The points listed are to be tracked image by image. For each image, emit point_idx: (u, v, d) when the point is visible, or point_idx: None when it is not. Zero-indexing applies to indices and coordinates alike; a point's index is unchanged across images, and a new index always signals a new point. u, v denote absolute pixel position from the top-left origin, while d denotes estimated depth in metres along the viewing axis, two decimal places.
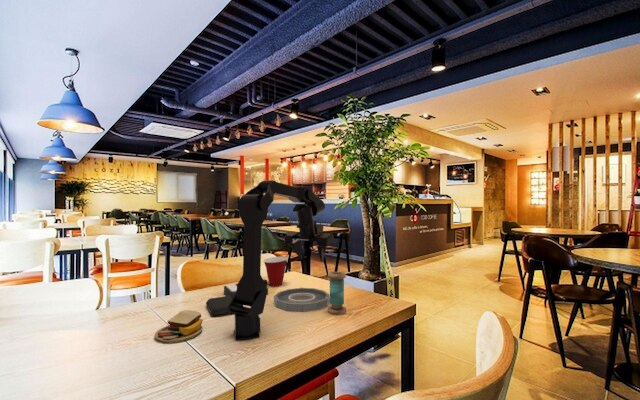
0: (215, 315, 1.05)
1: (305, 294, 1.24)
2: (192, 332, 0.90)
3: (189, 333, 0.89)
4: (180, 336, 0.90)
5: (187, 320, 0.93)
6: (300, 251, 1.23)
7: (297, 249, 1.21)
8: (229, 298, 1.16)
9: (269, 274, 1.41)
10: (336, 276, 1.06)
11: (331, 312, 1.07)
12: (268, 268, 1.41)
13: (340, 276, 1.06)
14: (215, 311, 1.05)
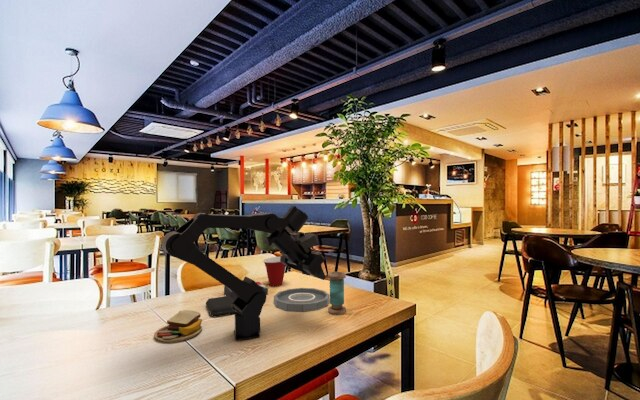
0: (214, 315, 1.05)
1: (305, 294, 1.24)
2: (192, 332, 0.90)
3: (189, 333, 0.89)
4: (179, 336, 0.90)
5: (186, 320, 0.93)
6: None
7: (298, 268, 1.06)
8: (229, 298, 1.16)
9: (269, 274, 1.41)
10: (336, 276, 1.06)
11: (331, 312, 1.07)
12: (268, 268, 1.41)
13: (340, 276, 1.06)
14: (214, 311, 1.05)
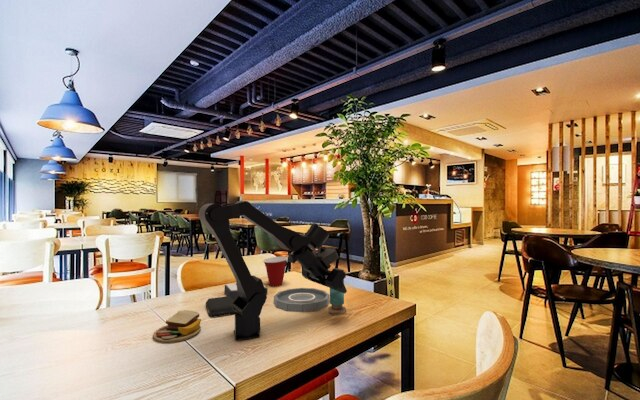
0: (214, 315, 1.05)
1: (305, 294, 1.24)
2: (191, 332, 0.90)
3: (188, 333, 0.89)
4: (179, 336, 0.90)
5: (185, 320, 0.93)
6: (324, 280, 1.12)
7: (319, 281, 1.11)
8: (228, 298, 1.16)
9: (269, 274, 1.41)
10: None
11: (331, 312, 1.07)
12: (268, 268, 1.41)
13: None
14: (214, 311, 1.05)
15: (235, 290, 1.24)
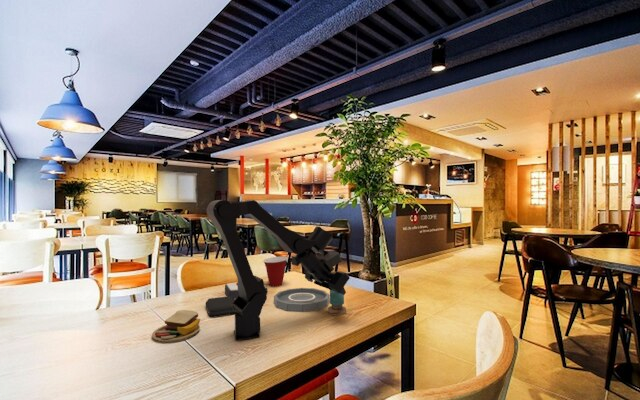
0: (213, 315, 1.05)
1: (305, 294, 1.24)
2: (190, 331, 0.90)
3: (187, 332, 0.89)
4: (178, 336, 0.90)
5: (184, 320, 0.93)
6: None
7: (325, 285, 1.10)
8: (228, 298, 1.16)
9: (269, 274, 1.41)
10: None
11: (331, 312, 1.07)
12: (268, 268, 1.41)
13: None
14: (213, 311, 1.05)
15: (235, 290, 1.25)
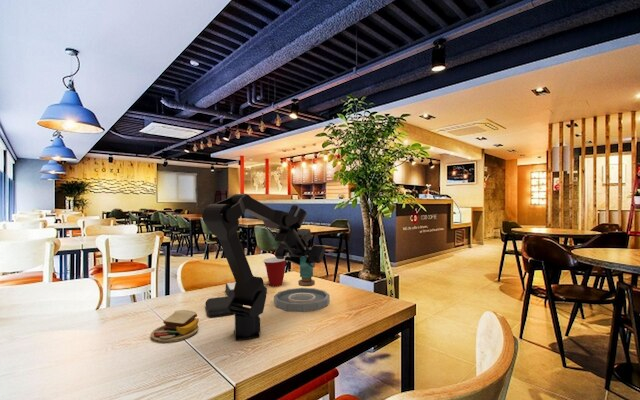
0: (212, 315, 1.05)
1: (305, 294, 1.24)
2: (189, 331, 0.91)
3: (186, 332, 0.90)
4: (177, 335, 0.90)
5: (183, 319, 0.93)
6: (299, 260, 1.20)
7: (295, 261, 1.18)
8: (228, 298, 1.16)
9: (269, 274, 1.41)
10: None
11: (304, 284, 1.16)
12: (268, 268, 1.41)
13: None
14: (212, 311, 1.05)
15: None
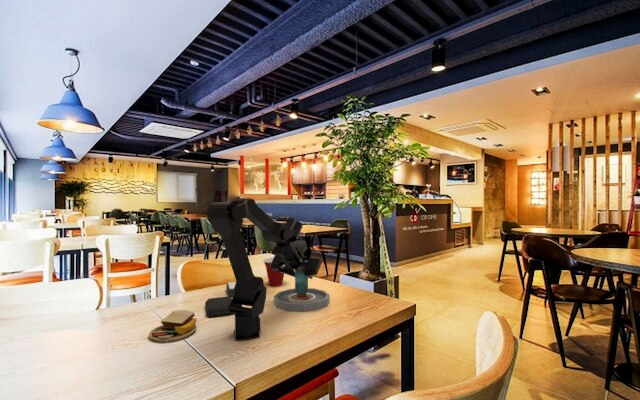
0: (210, 316, 1.05)
1: None
2: (187, 331, 0.91)
3: (184, 332, 0.90)
4: (175, 335, 0.90)
5: (181, 319, 0.93)
6: (292, 271, 1.21)
7: (289, 272, 1.19)
8: (228, 299, 1.16)
9: (269, 274, 1.41)
10: None
11: None
12: (268, 268, 1.41)
13: None
14: (210, 312, 1.05)
15: None
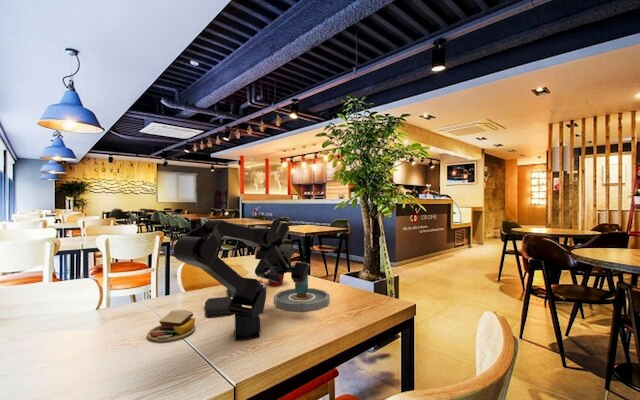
0: (209, 316, 1.05)
1: None
2: (186, 331, 0.91)
3: (183, 332, 0.90)
4: (174, 335, 0.90)
5: (179, 319, 0.94)
6: (276, 277, 1.13)
7: (272, 278, 1.11)
8: (227, 299, 1.16)
9: None
10: None
11: None
12: None
13: None
14: (209, 312, 1.05)
15: None
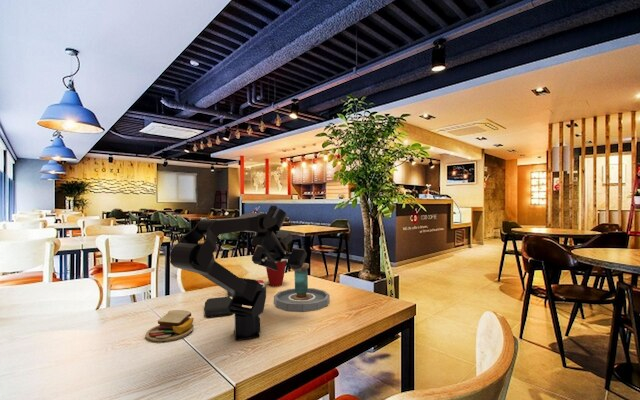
0: (208, 316, 1.05)
1: None
2: (185, 330, 0.91)
3: (182, 331, 0.90)
4: (172, 335, 0.90)
5: (178, 319, 0.94)
6: (273, 264, 1.12)
7: (270, 265, 1.10)
8: (227, 299, 1.15)
9: (269, 274, 1.41)
10: (303, 266, 1.17)
11: None
12: (268, 268, 1.41)
13: (306, 266, 1.18)
14: (208, 312, 1.05)
15: None
